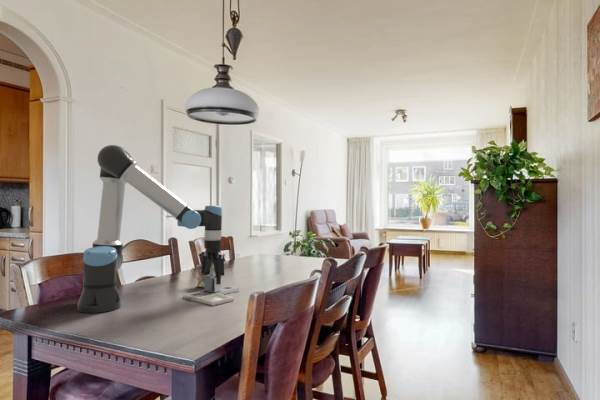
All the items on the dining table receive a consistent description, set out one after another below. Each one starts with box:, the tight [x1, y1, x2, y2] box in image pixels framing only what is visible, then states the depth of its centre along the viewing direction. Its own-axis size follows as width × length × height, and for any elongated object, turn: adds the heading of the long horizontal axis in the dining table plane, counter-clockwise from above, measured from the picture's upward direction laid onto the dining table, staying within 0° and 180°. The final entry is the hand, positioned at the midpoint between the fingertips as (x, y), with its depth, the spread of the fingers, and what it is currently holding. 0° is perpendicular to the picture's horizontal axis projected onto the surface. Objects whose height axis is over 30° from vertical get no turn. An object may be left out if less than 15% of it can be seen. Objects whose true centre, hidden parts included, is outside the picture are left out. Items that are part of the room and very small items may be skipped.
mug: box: [190, 263, 215, 288], centre depth 199 cm, size 12×9×11 cm
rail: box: [182, 285, 241, 302], centre depth 182 cm, size 26×8×2 cm, turn 141°
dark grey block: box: [203, 275, 220, 293], centre depth 182 cm, size 5×5×8 cm
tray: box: [195, 293, 235, 307], centre depth 170 cm, size 11×11×2 cm
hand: (212, 290), depth 182 cm, fingers open, 6 cm apart
